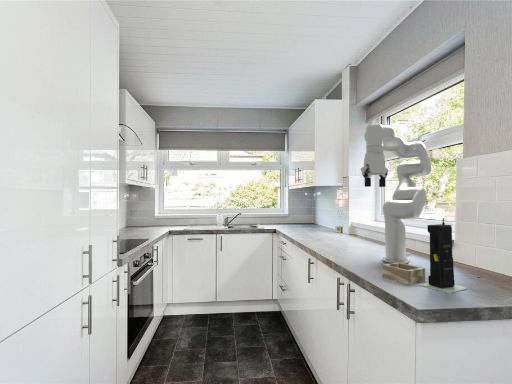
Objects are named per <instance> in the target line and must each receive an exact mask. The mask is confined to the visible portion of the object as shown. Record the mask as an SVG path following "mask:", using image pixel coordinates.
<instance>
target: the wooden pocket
mask: <svg viewBox="0 0 512 384" xmlns="http://www.w3.org/2000/svg"><path fill="white" fill-rule="evenodd" d="M381 266H382V268H381V269H382V271H381V273H382V276H381V277H383V278H385V279H388V280H392V281H396V282H398V283H399V282H400V283H403V284H406V285H413V284H416V283H421V282H425V281H426V268H425V267H421V266H417V265H413V264H409V263H406V264H404V263H399V262H397V263H386V264H382V265H381Z"/></svg>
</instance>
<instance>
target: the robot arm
mask: <svg viewBox="0 0 512 384" xmlns="http://www.w3.org/2000/svg"><path fill="white" fill-rule="evenodd" d="M396 134H397V133H396V129H395V128H394V127H393V126H391V125H383V124H381V123H373V124H368V125H367V126H366V129H365V132H364V137H363V138H364V140H365V144H366V146H365V150H366V153H365V154H364V160H363V167H361V168H360V172H361V175H362V176H363V177H362V178H363V179H364V187H365V188H367V187H368V188H369V187H371V186H372V178H371V176H373V175H374V176H377V175H378V177H379V178H378V184H379V185H378V186H379V188H386V179H387V176H388V173H389V169H388V168H387V167H386V160H385V154H384V152H391V153H392V154H393V155H395V156H396V157H398V158H399V159H403V160H405V159H406V160H407V159H408V160H409V159H417V158H418V160H413V161H411V160H410V161H404V162H403V161H402V162H401V163H399V164H398V165H397V167H396V174H397V179H398V185H397V186H396V188H395V190H394V192H393V194H392V198H391V200H387V201H385V202H384V203H383V206H382V212H383V217H384V234H385V235H384V241H385V243H384V245H385V247H384V248H385V252H384V253H385V256H383V257H382V261H383V262H385V263H387V264H391V263H397V262H399V263H404V264H409V263H410V259H408V257H411V255H412V254H411V252H407V250H406V249H407V247H406V246H407V245H406V227H405V223H404V222H403V221H402V220H417V219H418V218H419V217H420V216H421V214H422V211H423V209H424V207H425V204H426V201H427V192H426V189H424V188H423V187H421V186H416V183H415V181H414V180H413V179H412V178H410V177H425V176H429V175H430V174H431V171H432V164H431V161H430V158H429V153H428V149H427V147H426V145H425V144H424V142H422V141H412V142H407V141H406V140H405V139H403V137H400V136H399V135H398V136H397V135H396Z"/></svg>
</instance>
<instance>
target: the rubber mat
mask: <svg viewBox="0 0 512 384" xmlns="http://www.w3.org/2000/svg"><path fill="white" fill-rule="evenodd" d="M418 285H419V287H420V286H421V287H424V288H428V289H431V290H435V291H438V292H441V293H444V294H448V295H450V294H453V293H458V292H462V291H465V290H468V287H464V286H460V285H457V284H455V285H454V287H448V288H438V287H435V286H432V285H430V284H429V283H428V281H427V282H423V283H419V284H418Z"/></svg>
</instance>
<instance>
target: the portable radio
mask: <svg viewBox="0 0 512 384" xmlns="http://www.w3.org/2000/svg"><path fill="white" fill-rule="evenodd" d="M441 223H442V224H428V225H427V232H428V233H429V276H428V277H427V279H428V280H427V282H428V283H429V284H430V285H432V286H435V287H438V288H448V287H454V285H456V284H455V282H456V281H455V272H454V257H453V226H452V225H451V224H446V223H445V218H444V217H442V222H441Z"/></svg>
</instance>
